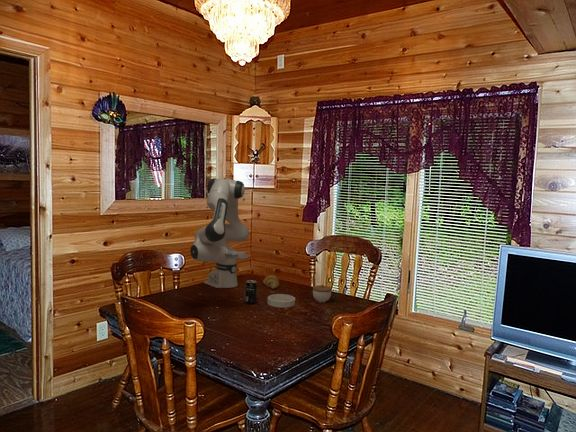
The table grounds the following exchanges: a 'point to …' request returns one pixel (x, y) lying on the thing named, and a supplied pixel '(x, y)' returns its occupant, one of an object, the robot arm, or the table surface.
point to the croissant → (271, 281)
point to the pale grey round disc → (281, 300)
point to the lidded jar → (321, 293)
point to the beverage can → (250, 291)
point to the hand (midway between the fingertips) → (242, 256)
